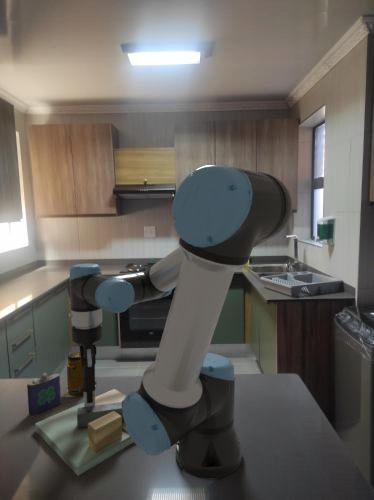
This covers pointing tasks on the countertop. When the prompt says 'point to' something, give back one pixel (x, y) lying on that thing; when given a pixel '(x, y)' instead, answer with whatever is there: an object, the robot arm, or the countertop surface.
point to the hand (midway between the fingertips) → (89, 411)
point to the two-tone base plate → (86, 435)
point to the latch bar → (97, 412)
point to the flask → (44, 394)
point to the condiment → (74, 375)
